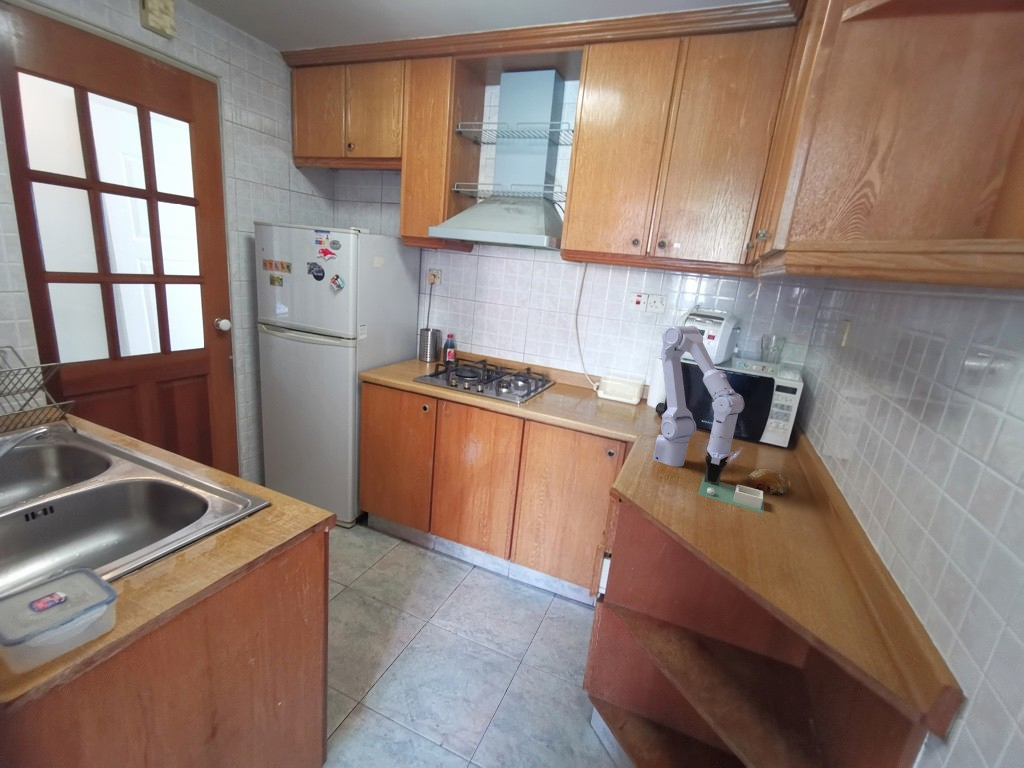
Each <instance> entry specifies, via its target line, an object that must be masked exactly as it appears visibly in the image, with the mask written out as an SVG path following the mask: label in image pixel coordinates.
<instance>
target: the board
mask: <svg viewBox="0 0 1024 768" xmlns="http://www.w3.org/2000/svg"><path fill="white" fill-rule="evenodd" d="M704 478H705V476H703V477H702V480H701V483H700V486H699V489H698V493H697V495H698V496H702V497H705V498H709V499H712V500H715V501H718V502H723V503H726V504H730V505H732V506H736V507H739V508H744V509H747V510H750V511H753V512H757V513H761V514H764V513H765V511H764V509H765V493H763V501H762V505H761V509H757V508H753V507H750V506H746V505H743V504H739V503H736V502H733V501H734V494H735V490H736V486H737V485H733V484H728V483H725V482H722V481H720V482H719V486H718V485H715V484H711V483H707V482H704Z"/></svg>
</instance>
